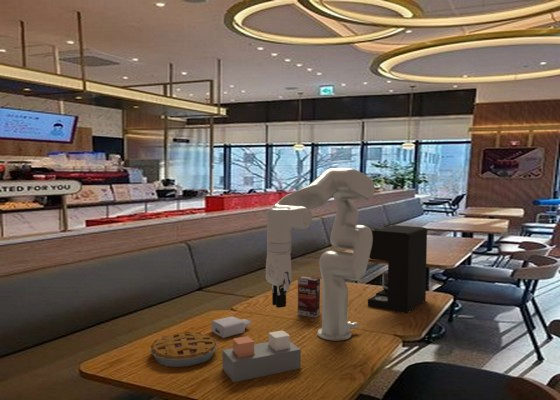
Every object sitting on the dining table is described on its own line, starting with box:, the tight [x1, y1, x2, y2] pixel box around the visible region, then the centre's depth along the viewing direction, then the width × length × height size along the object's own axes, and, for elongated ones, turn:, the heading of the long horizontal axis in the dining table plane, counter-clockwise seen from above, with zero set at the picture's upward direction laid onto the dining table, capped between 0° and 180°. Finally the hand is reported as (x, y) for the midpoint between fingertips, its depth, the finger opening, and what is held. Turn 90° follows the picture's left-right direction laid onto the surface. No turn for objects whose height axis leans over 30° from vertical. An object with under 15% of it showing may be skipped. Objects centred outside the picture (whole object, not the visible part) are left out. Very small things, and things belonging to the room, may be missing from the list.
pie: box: [150, 331, 218, 368], centre depth 153 cm, size 22×22×5 cm
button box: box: [222, 341, 302, 383], centre depth 142 cm, size 22×10×6 cm, turn 116°
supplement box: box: [297, 276, 321, 318], centre depth 194 cm, size 9×5×16 cm, turn 68°
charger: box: [210, 315, 253, 339], centre depth 176 cm, size 5×9×15 cm
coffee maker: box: [367, 224, 428, 314], centre depth 213 cm, size 28×20×35 cm
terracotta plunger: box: [232, 335, 255, 358], centre depth 139 cm, size 5×5×6 cm
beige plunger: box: [268, 330, 291, 351], centre depth 144 cm, size 5×5×6 cm
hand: (279, 305), depth 143 cm, fingers closed
